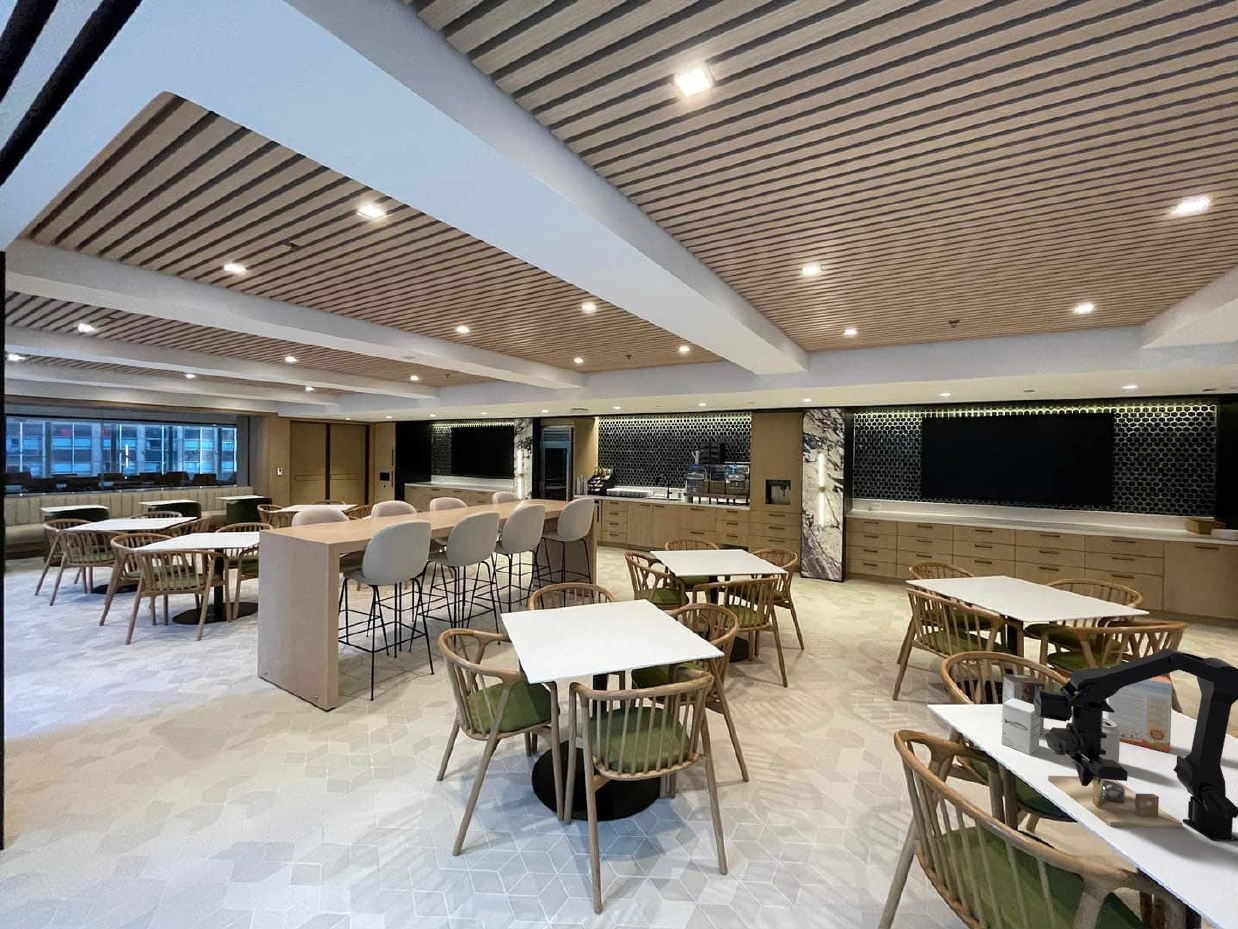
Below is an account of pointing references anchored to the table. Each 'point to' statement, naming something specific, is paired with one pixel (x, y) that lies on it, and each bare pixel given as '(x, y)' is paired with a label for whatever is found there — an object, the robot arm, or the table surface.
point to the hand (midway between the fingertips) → (1084, 786)
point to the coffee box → (1022, 690)
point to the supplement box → (1020, 726)
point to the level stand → (1118, 805)
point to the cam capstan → (1107, 792)
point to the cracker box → (1144, 713)
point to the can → (1111, 740)
